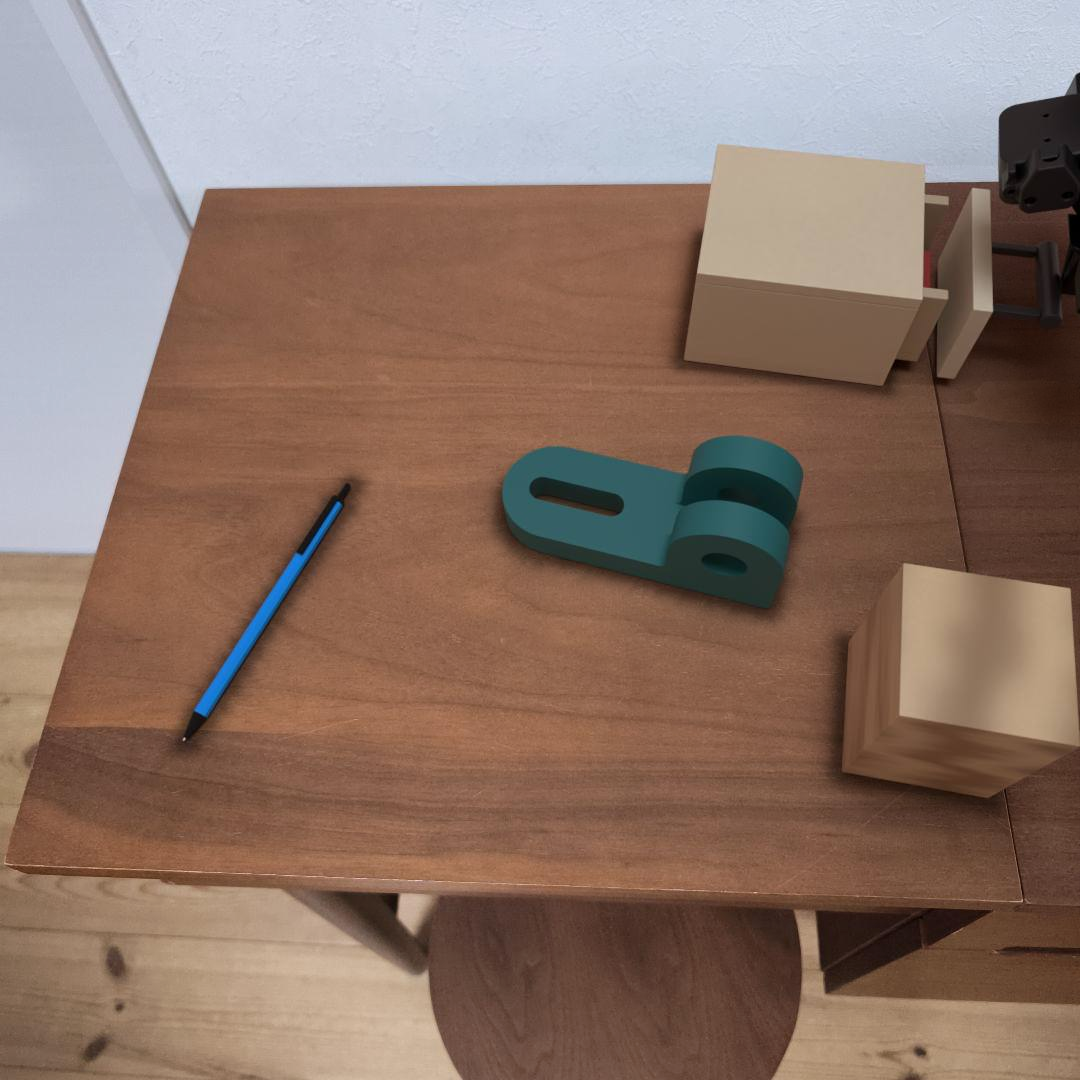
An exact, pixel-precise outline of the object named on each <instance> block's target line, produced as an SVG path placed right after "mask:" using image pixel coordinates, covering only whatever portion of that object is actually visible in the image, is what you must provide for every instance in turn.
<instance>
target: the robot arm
mask: <svg viewBox="0 0 1080 1080" xmlns="http://www.w3.org/2000/svg"><path fill="white" fill-rule="evenodd" d="M997 135H998V136H997V137H998V138H997V139H998V140H997V173H998V177H997V179H998V198H999V199H1000V201H1001V202H1002V203H1004V204H1006V205H1011V206H1018V209H1019V210H1020V211H1021V212H1023V213H1025V214H1036V213H1037V214H1038V213H1044V212H1052V211H1058V210H1059V211H1060V210H1066V209H1069V208H1072V209H1073V211H1074V213H1067V223H1068V224H1067V226H1068V239H1069V240H1068V241H1069V244H1068V247H1067V251H1066V255H1065V259H1064V262H1063V266H1062V271H1061V273H1060V287H1061V295H1064V296H1065V295H1066V296H1075V305H1076V306H1075V307H1076V313H1077V314H1078V315H1079V316H1080V71H1079V72H1078V73H1076V74H1075V75H1074V77H1073V79H1072V81H1071V83H1070V84H1069V87H1067V90H1066V92H1065V94H1064V95H1060V96H1055V97H1049V98H1043V99H1038V100H1033V101H1027V102H1022V103H1016V104H1013V105H1010V106H1008V107H1006V108H1005V109H1003V110H1002V112H1001V113H1000V114H999V116H998V133H997Z"/></svg>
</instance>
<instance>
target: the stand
mask: <svg viewBox="0 0 1080 1080" xmlns="http://www.w3.org/2000/svg"><path fill="white" fill-rule="evenodd" d="M1071 590H1072V589H1071V588H1070V587H1064V586H1057V585H1051V584H1044V583H1038V582H1030V581H1026V580H1018V579H1011V578H1005V577H999V576H992V575H985V574H978V573H974V572H973V573H972V572H967V571H959V570H953V569H947V568H938V567H932V566H926V565H919V564H913V563H907V562H903V563H902V564H901V566H900V568H899V569H898V570H897V572H896V573H895V574H894V576H893V577H892V579H891V580H890V581H889V583H888V584H887V586H886V587H885V589H884V590H883V592H882V593H881V595H880V596H879V597H878V599H877V600H876V602H875V603H874V605H873V606H872V607H871V609H870V610H869V612H868V613H867V615H866V616H865V618H864V619H863V620H862V622H861V623H860V625H859V626H858V628H857V629H856V630H855V632H854V633H853V635H852V637H851V638H850V639H849V641H848V643H847V644H848V645H847V662H846V681H845V683H846V684H845V698H844V699H845V701H844V718H843V719H844V720H843V739H842V759H841V772H842V773H846V774H851V775H857V776H862V777H869V778H874V779H879V780H884V781H889V782H890V781H891V782H894V783H895V782H897V783H902V784H908V785H913V786H917V787H923V788H929V789H934V790H939V791H946V792H950V793H951V792H952V793H956V794H962V795H968V796H973V797H979V798H985V799H989V798H991V797H993V796H995V795H996V794H998V793H1000V792H1002V791H1003V790H1005V789H1007V788H1009V787H1011V786H1013V785H1014V784H1016V783H1018V782H1020V781H1022V780H1023V779H1025V778H1026V777H1029V776H1030V775H1032V774H1034V773H1035V772H1037V771H1040V770H1041V769H1042V768H1045V767H1046V766H1048V765H1050V764H1052V763H1053V762H1055V761H1057V760H1059V759H1061V758H1063V757H1064V756H1066V755H1067V754H1070V753H1072V752H1073V751H1075V750H1076V749H1078V748H1080V720H1079V719H1080V718H1079V703H1078V688H1077V686H1078V685H1077V672H1076V671H1077V670H1076V669H1077V668H1076V657H1075V656H1076V655H1075V640H1074V639H1075V637H1074V621H1073V606H1072V591H1071Z"/></svg>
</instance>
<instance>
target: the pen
mask: <svg viewBox="0 0 1080 1080" xmlns="http://www.w3.org/2000/svg"><path fill="white" fill-rule="evenodd" d="M350 488H351V484H350V483H348V482H346V483H345V484H344V486H342V488H341V490H340V491H339V493H338V494H333V495H332V496H331V497H330V499H329V500H328V502H327V503H326V505H325V507H323V510H322V511H321V513H320V514H319V515H318V518H317V519H316V520H315V522H314V523H313V525H312V527H311V528H310V530H309V531H308V533H306V535H305V537H304V538H303V540H302V541H301V544H300V545H299V547H298V548H297V550H296V551H295V553H294V555H293V557H292V559H290V561H289V563H288V564H287V566H286V568H285V569H284V571H283V572H282V574H281V575H280V577H279V578H278V580H277V581H276V582H275V584H274V586H273V588H272V589H271V590H270V592H269V594H268V596H267V597H266V598H265V600H264V602H263V603H262V605H261V606H260V608H259V609H258V611H257V612H256V614H255V615H254V617H253V618H252V620H251V622H250V623H249V625H248V626H247V628H246V629H245V631H244V632H243V634H242V635H241V637H240V638H239V640H238V641H237V643H236V645H235V646H234V647H233V649H232V651H231V652H230V654H229V655H228V657H227V658H226V660H225V662H224V663H223V665H222V666H221V668H220V669H219V671H218V672H217V674H216V675H215V677H214V678H213V680H212V682H211V683H210V685H209V687H207V689H206V691H205V692H204V694H203V695H202V697H201V699H200V700H199V701H198V703H197V705H196V706H195V708H194V709H193V710H192V714H191V716H190V718H189V721H188V723H187V726H186V729H185V731H184V734H183V736H182V737H183V738H182V741H183V742H185V741H186V740H188V739H189V738H190V736H192V735H193V733H194V732H196V731H197V729H198V728H199V727H200V726H201V725H202V724H203V723H204V722H205V721H206V720H207V719H208V718H209V716H210V714H211V713H212V711H213V710H214V708H215V706H216V705H217V704H218V702H219V700H220V699H221V697H222V695H223V694H224V693H225V691H226V689H227V687H228V686H229V684H230V683H231V682H232V680H233V678H234V677H235V675H236V674H237V672H238V670H239V669H240V667H241V666H242V664H243V663H244V661H245V659H246V658H247V656H248V655H249V653H250V652H251V650H252V648H253V647H254V646H255V644H256V642H257V641H258V639H259V637H260V636H261V635H262V633H263V632H264V630H265V629H266V627H267V625H268V623H270V621H271V619H272V617H273V616H274V614H275V612H276V611H277V610H278V608H279V607H280V605H281V604H282V602H283V600H284V599H285V597H286V596H287V594H288V592H290V589H291V588H292V587H293V584H294V583H295V581H296V580H297V578H298V577H299V576H300V574H301V572H302V570H303V569H304V568H305V566H306V564H307V562H308V561H309V560H310V558H311V557H312V555H313V553H314V552H315V550H316V548H317V547H318V546H319V544H320V542H321V541H322V540H323V538H324V536H325V535H326V533H327V531H328V530H329V528H330V527H331V525H332V524H333V522H334V521H335V519H336V517H337V516H338V514H339V512H340V511H341V509H342V508H343V506H344V505H345V501H344V497H345V496H346V494H347V493H348V492H349V490H350Z"/></svg>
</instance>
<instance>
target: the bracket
mask: <svg viewBox="0 0 1080 1080" xmlns="http://www.w3.org/2000/svg"><path fill="white" fill-rule="evenodd" d="M803 480H804V469H803V466H802V465H801V463H800V462H799V461H798V459H797V458H796V457H795V456H794V455H792V453H791V452H789V451H788V450H786V449H785V448H783V447H781V446H779V445H778V444H775V443H773V442H771V441H768V440H765V439H761V438H757V437H753V436H746V435H722V436H717V437H713V438H710V439H708V440H705V441H703V442H702V443H700V444H699V445H698V446H697V447H696V448H695V449H694V450H693V453H692V455H691V460H690V463H689V467H688V471H687V473H681V472H677V471H673V470H669V469H664V468H660V467H656V466H651V465H647V464H643V463H638V462H633V461H629V460H626V459H620V458H616V457H611V456H607V455H603V454H600V453H599V454H598V453H595V452H591V451H586V450H582V449H577V448H572V447H568V446H561V445H553V446H545V447H544V446H543V447H540V448H537V449H534V450H531V451H530V452H528V453H526V454H524V455H523V456H521V457H520V458H519V459H517V460H516V461H515V462H514V463H513V464H512V465H511V466H510V468H509V470H508V471H507V473H506V475H505V477H504V480H503V483H502V488H501V489H502V491H501V496H502V497H501V498H502V503H503V504H502V505H503V511H504V517H505V521H506V524H507V526H508V527H507V528H508V529H509V531H510V533H512V535H513V536H514V538H515V539H516V540H517V541H518V542H520V543H521V544H522V545H523V546H525V547H526V548H528V549H530V550H533V551H535V552H538V553H541V554H546V555H550V556H554V557H557V558H562V559H566V560H570V561H573V562H577V563H581V564H586V565H589V566H592V567H597V568H601V569H604V570H605V569H606V570H610V571H613V572H617V573H621V574H625V575H629V576H632V577H637V578H641V579H646V580H648V581H649V580H650V581H654V582H657V583H660V584H661V583H662V584H665V585H669V586H674V587H677V588H681V589H685V590H688V591H689V590H690V591H692V592H697V593H701V594H705V595H709V596H712V597H717V598H721V599H725V600H729V601H732V602H733V601H734V602H737V603H741V604H745V605H749V606H753V607H757V608H761V609H765V610H770V607H771V605H772V603H773V601H774V599H775V597H776V594H777V592H778V590H779V588H780V586H781V583H782V581H783V580H784V579H783V578H784V576H785V569H786V566H787V565H786V564H787V561H788V555H789V551H790V550H789V549H790V545H791V535H790V532H789V531H790V528H791V525H792V523H793V520H794V518H795V516H796V513H797V510H798V505H799V501H800V496H801V491H802V487H803V486H802V485H803ZM542 495H547V496H551V497H554V498H559V499H564V500H568V501H571V502H575V503H579V504H584V505H588V506H592V507H597V508H600V509H605V510H609V511H613V512H616V513H618V514H616V515H612V516H611V515H605V514H602V513H597V512H593V511H588V510H585V509H580V508H576V507H572V506H569V505H564V504H559V503H555V502H551V501H547V500H543V499H538V498H536V497H538V496H542Z"/></svg>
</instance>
